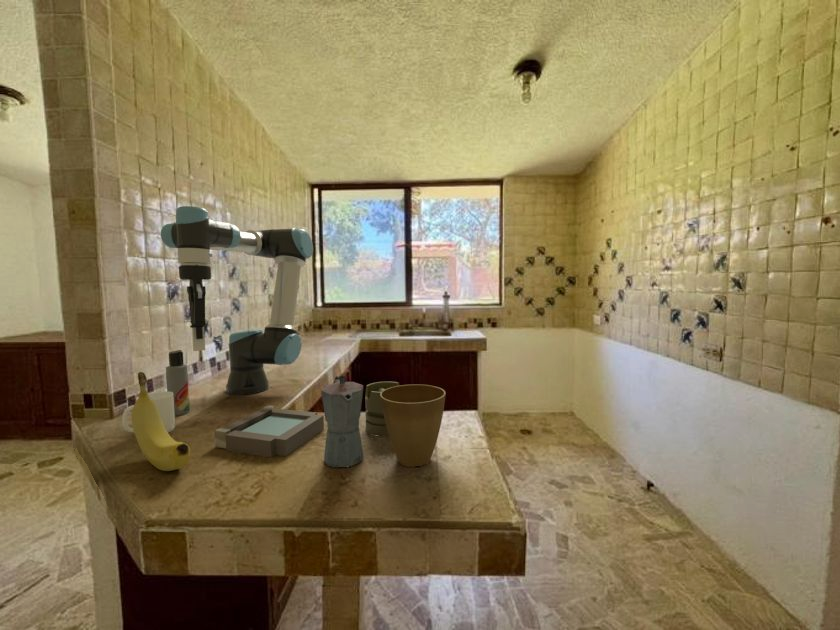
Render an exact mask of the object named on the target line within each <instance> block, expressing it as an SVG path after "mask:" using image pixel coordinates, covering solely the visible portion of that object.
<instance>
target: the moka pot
mask: <svg viewBox="0 0 840 630" xmlns="http://www.w3.org/2000/svg"><path fill="white" fill-rule="evenodd" d="M346 377H347V376H346V375H340V376H335V377H334V382H333V383H330V384H326V385H324V386H323V388H322V389H321V391H320V394H321V400H322V406H323V411H324V412H323V413H324V419H325V420H324V421H325V422H326V424H327V425H326V426H327V430H326V436H325V437H326V438H325V446H324V454H323V456H324V457H323V461H324V463H325V464H326V465H327V466H328V467H330V466H332V467H331V468H334V467H347V466H351V467H353V466H352V465H354V464H356V465H358V464H359V463H361V462H362V460H363V458H364V451H363V450H364V449H363V443H362V438H361V431H360V427H359V426H360V417H361V413H362V402H363V393H364V385H363V384H361V383H358V382H355V381H346V380H347V379H346ZM357 463H358V464H357ZM354 466H355V465H354ZM347 468H348V467H347Z"/></svg>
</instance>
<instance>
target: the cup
mask: <svg viewBox="0 0 840 630" xmlns="http://www.w3.org/2000/svg"><path fill="white" fill-rule="evenodd" d="M147 394H148V396H149V397H150V399H151V400H152V401H153V402H154V403H155V405H156V407H157V409H158V411H159V414H160V417H161V419H162V422H163V424H164V426H165V428H166V430H167V432H168V434H169V433H172V431H174V429H175V428H176V419H175V418H176V416H175V415H174V397H173V393H172V392H167V391H154V392H149V393H148V392H147ZM138 397H139V396H137V397H136V401H137V399H138ZM134 405H135V404H133V405H130V406H128V407H126V408H125V409H124V411H123V413H122V416H121V424H122V428H123V429H124V430H125V431H126V432H128V433H134V429H133V427H130V426H129V423H128V416H129V413H130V412H132V410H133V407H134Z"/></svg>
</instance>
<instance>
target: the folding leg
mask: <svg viewBox="0 0 840 630" xmlns="http://www.w3.org/2000/svg"><path fill="white" fill-rule="evenodd" d="M273 411H275V406H274V405H266V406H263V407H262V408H261V409H260V410H258V411H255V412H253V413H251V414H249V415H247V416H245V417H243V418H240V419H238V420H236V421H233V422H232V423H229V424H227V425H225V426H222V427H219V428H217V429H215V430H214V447H215V448H220V449H226V437H225V435H226V434H228V433H230V432H232V431H234V430H236V431H242V430H244V429H246V428H248V427H250V426H252V425H254V424H256V423H258V422H260V421H262V420H264V419H266V418H267V417H269V416H271V415H272V412H273Z"/></svg>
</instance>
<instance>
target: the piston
mask: <svg viewBox="0 0 840 630" xmlns="http://www.w3.org/2000/svg"><path fill="white" fill-rule="evenodd" d="M395 386H400V382H397V381H377V382H373V383H372V382H371V383H369V384H367V385H366V386H365V396H364V397H365V404H364V405H365V432H366V431H367V432H368V433H367V432H366V433H367V434H369V433H370V434H369V435H371V434H373V435H372V436H374V435H378V436H377V437H382V436H386V437H389V434H388V430H387V427H386V423H385V418H384V414H383V408H382V403H381V397H380V394H381V392H382V391H384V390H385V389H388V388H391V387H395Z"/></svg>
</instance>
